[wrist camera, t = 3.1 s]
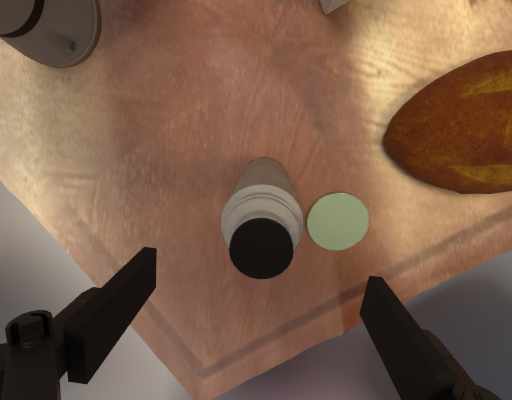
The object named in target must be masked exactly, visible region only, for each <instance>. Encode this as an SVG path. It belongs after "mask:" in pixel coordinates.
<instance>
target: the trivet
mask: <svg viewBox="0 0 512 400" xmlns="http://www.w3.org/2000/svg"><path fill="white" fill-rule="evenodd" d="M368 225H369V214H368V211H367V209H366V207H365V205H364V204H363V203H362V202H361V201H360V200H359V199H358V198H357V197H355V196H353V195H351V194H348V193H344V192H334V193H329V194H326V195H324V196H322V197H321V198H319V199H318V200H317V201H316V202H315V203H314V204H313V205H312V206H311V208H310V210H309V212H308V215H307V229H308V232H309V235H310V237H311V238H312V240H313V241H314V242H315V243H316V244H318V245H319V246H321V247H323V248H325V249H328V250H344V249H347V248H350V247H352V246H354V245H355V244H357V243H358V242H359V241H360V240H361V239H362V238H363V237H364V235H365V233H366V231H367V229H368Z"/></svg>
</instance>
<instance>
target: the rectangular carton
mask: <svg viewBox="0 0 512 400" xmlns="http://www.w3.org/2000/svg"><path fill="white" fill-rule="evenodd" d="M349 1H351V0H319V2H320V4H321V7H322V9H323V12H324V14H325V15H326V14H328V13H330V12H332V11H333V10H335V9H337V8H339V7H340V6H342V5H344V4H346V3H347V2H349Z"/></svg>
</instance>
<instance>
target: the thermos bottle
mask: <svg viewBox="0 0 512 400" xmlns="http://www.w3.org/2000/svg"><path fill="white" fill-rule="evenodd" d="M303 227H304V220H303V215H302V211H301V208H300V205H299V203H298V200H297V198H296V195H295V193H294V190H293V188H292V185H291V183H290V181H289V178H288V175H287V173H286V171H285V169H284V167H283V166H282V164H280V163H279V162H278V161H276V160H275V159H272V158H267V157H263V158H258V159H255V160H253V161H252V162H251V163H249V164H248V166H247V167H246V168H245V170H244V172H243V174H242V176H241V177H240V179H239V181H238V183H237V185H236V187H235V188H234V190H233V192H232V194H231V196H230V198H229V199H228V201H227V203H226V205H225V207H224V209H223V212H222V216H221V229H222V233H223V236H224V239H225V241H226V244H227V247H228V248H229V253H230V257H231V260H232V262H233V264H234V266H235V267H236V268H237V269H238V270H239V271H240V272H241V273H243V274H244V275H246V276H248V277H251V278H255V279H269V278H273V277H275V276H278V275H279V274H281V273H282V272H283V271H285V270H286V269H287V267H288V266H289V264H290V263H291V260H292V258H293V253H294V250H295V248H296V245H297V244H298V242H299V241H300V238H301V236H302V233H303Z"/></svg>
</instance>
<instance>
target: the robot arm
mask: <svg viewBox="0 0 512 400" xmlns="http://www.w3.org/2000/svg"><path fill="white" fill-rule="evenodd" d="M100 28H101V16H100V9H99V4H98V1H97V0H0V38H1V39H2V40H4V41H5V42H7V43H8V44H9V45H11V46H12V47H14V48H15V49H16V50H18V51H19V52H21V53H22V54H24V55H25V56H27V57H28V58H31V59H33V60H35V61H37V62H39V63H42V64H45V65H49V66H53V67H61V68H62V67H71V66H74V65H76V64H79V63H80V62H82V61H83V60H85V59H86V58H87V57H88V56H89V55H90V54H91V53H92V51H93V50H94V48H95V46H96V44H97V41H98V38H99V34H100ZM156 252H157V248H149V247H144V248H143V249H142V250H140V251H139V252H138V253H137V254H136V255H135V256H134V257H133V258H132V259H131V260H130V261H129V262H128V263H127V264H126V265H125V266H124V267H123V268H122V269H121V270H120V271H118V272H117V273H116V274H115V275H114V276H113V277H112V278H111V279H110V280H109V281H108V282H107V283H106V284H105V285H104V286H103V287H102V288H96V287H92V288H90V289H89V290H87V291H85V292H83V293H81V294H80V295H79V296H78V297H77V298H76V299H75V300H74V301H72V302H71V303H70V304H69V305H68V306H67V307H65V309H63V310H62V311H61V312H60V313H59V314H57V315H56V316H55V317H54V318H52V314H51V313H50V312H48V311H46V310H36V311H30V312H27V313H24V314H21V315H20V316H18V317H16V318H14V319H13V320H12V321H10V322H9V323H8V324H7V326H6V328H5V332H6V337H7V343H4V344H0V400H61V395H60V381H59V380H60V379H61V377H62V376H63V375H64V374H65V373H66V371H67V372H68V382H75V383H82V384H88V382H89V381H90V379H91V378H92V377H93V375H94V374H95V372H96V371H97V370H98V368H99V367H100V365H101V364H102V363H103V361H104V360H105V358H106V357H107V356H108V354H109V353H110V351H111V350H112V349H113V347H114V346H115V344H116V343H117V341H118V340H119V339H120V337H121V336H122V334H123V333H124V332H125V330H126V329H127V327H128V326H129V325H130V323H131V322H132V320H133V319H134V318H135V316H136V315H137V313H138V312H139V311H140V309H141V308H142V306H143V305H144V303H145V302H146V301H147V299H148V298H149V296H150V295H151V294H152V292H153V291H154V289H155V288H156ZM360 316H361V318H362V320H363V322H364V324H365V326H366V328H367V330H368V332H369V334H370V336H371V339H372V340H373V343H374V345H375V347H376V349H377V351H378V353H379V355H380V357H381V359H382V361H383V363H384V365H385V367H386V369H387V371H388V373H389V375H390V378H391V380H392V381H393V384H394V386H395V388H396V390H397V392H398V394H399V396H400V398H401V400H501V399H500V398H499V397H497V395H495V394H494V393H492V392H490V391H489V390H487V389H485V388H483V387H481V386H477V385H476V384H475V383H474V382H473V380H472V379H471V378H470V377H469V375H468V374H467V373H466V372H465V371H464V369H463V368H462V367H461V366H460V364H459V363H458V362H457V361H456V359H455V358H453V356H452V354H451V353H450V352H449V351H448V350H447V349H446V347H445V346H444V345H443V344H442V342H441V341H440V340H439V339H438V338H437V337H436V336H435V335H434V334H432V333H431V332H430V331H429V330H423V329H421V328H420V327H419V325H418V324H417V323H416V321H415V320H414V319H413V318H412V316H411V315H410V314H409V312H408V311H407V310H406V308H405V307H404V306H403V304H402V303H401V302H400V300H399V299H398V298H397V296H396V295H395V294H394V292H393V291H392V290H391V288H390V287H389V286H388V285H387V283H386V282H385V281H384V279H383V278H382V277H376V276H369V279H368V283H367V287H366V291H365V295H364V298H363V302H362V306H361V310H360Z"/></svg>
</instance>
